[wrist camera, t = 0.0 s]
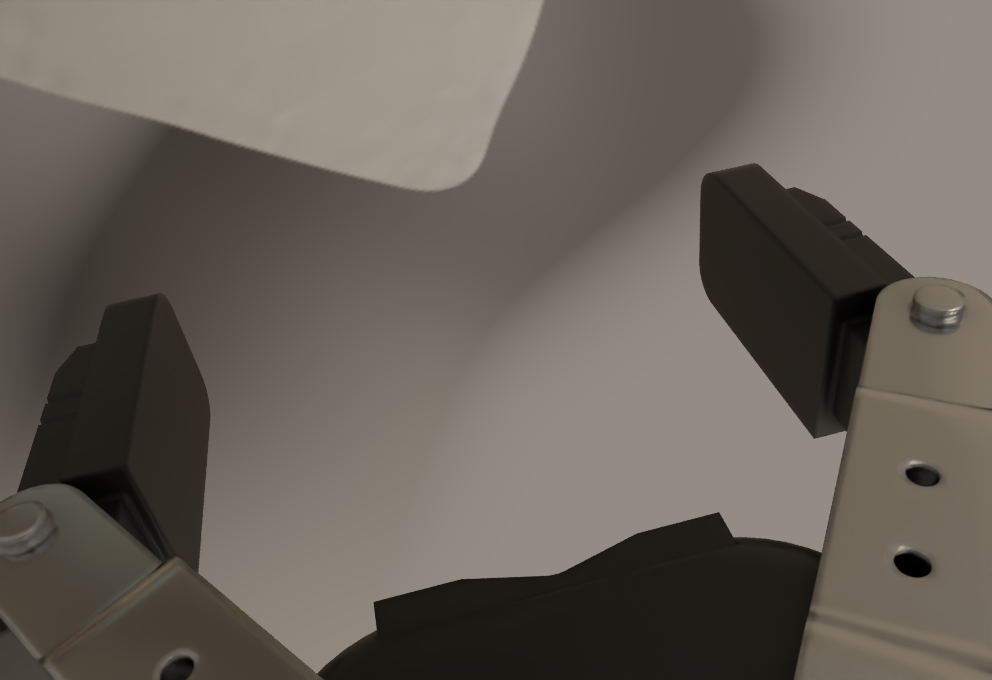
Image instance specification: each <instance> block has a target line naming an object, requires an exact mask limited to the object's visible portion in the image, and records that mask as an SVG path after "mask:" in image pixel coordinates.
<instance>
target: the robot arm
mask: <svg viewBox="0 0 992 680" xmlns="http://www.w3.org/2000/svg"><path fill="white" fill-rule="evenodd" d="M700 202H701V203H700V255H699V257H700V258H699V262H700V263H699V266H700V274H701V279H702V283H703V286H704V289H705V292H706V294H707V296H708V298H709V300H710V302H711V303H712V304H713V306H714V307H715V308H716V310H717V311H718V312H719V314H720V315H721V316H722V318H723V319H724V320H725V322H726V323H727V324H728V326H730V328H731V330H732V331H733V332H734V333H735V335H736V336H737V337H738V339H739V340H740V341H741V343H742V344H743V345H744V347H745V348H746V349H747V351H748V352H749V353H750V355H751V356H752V357H753V358H754V360H755V361H756V362H757V364H758V365H759V366H760V368H761V369H762V370H763V372H764V373H765V374H766V375H767V377H768V378H769V380H770V381H771V382H772V384H773V385H774V386H775V388H776V389H777V390H778V392H779V393H780V394H781V395H782V397H783V398H784V399H785V401H786V402H787V403H788V405H789V406H790V407H791V409H792V410H793V411H794V413H795V414H796V415H797V417H798V418H799V419H800V421H801V422H802V423H803V425H804V426H805V427H806V429H807V430H808V431H809V433H810V434H811V435H812V436H813V438H814V439H815V438H819V437H823V436H827V435H831V434H835V433H838V432H843V431H847V435H846V439H845V444H844V449H843V454H842V459H841V464H840V468H839V474H838V478H837V482H836V488H835V492H834V497H833V501H832V506H831V511H830V516H829V521H828V525H827V530H826V535H825V540H824V544H823V549H822V553H821V552H818V551H815V550H812V549H810V548H806V547H803V546H799V545H795V544H791V543H787V542H782V541H775V540H770V539H761V538H747V537H735V538H734V537H733V536H732V534H731V533H730V531H729V529H728V527H727V525H726V524H725V522H724V520H723V518H722V517H721V515H720V513H719V512H718V513H714V514H711V515H706V516H703V517H699V518H695V519H691V520H687V521H683V522H680V523H676V524H672V525H668V526H664V527H660V528H657V529H653V530H649V531H645V532H641V533H637V534H635V535H633V536H631V537H629V538H627V539H625V540H624V541H622V542H620V543H618V544H616V545H614V546H612V547H610V548H608V549H606V550H604V551H603V552H600V553H599V554H597V555H595V556H593V557H591V558H589V559H587V560H585V561H583V562H581V563H579V564H577V565H575V566H574V567H572V568H570V569H568V570H566V571H564V572H561V573H559V574H555V575H550V576H533V577H509V578H508V577H507V578H482V579H461V580H457V581H453V582H449V583H445V584H442V585H437V586H433V587H430V588H426V589H422V590H418V591H414V592H411V593H407V594H403V595H399V596H395V597H391V598H388V599H384V600H380V601H376V602H374V610H375V618H376V626H377V630H376V631H374V632H373V633H371V634H369V635H367V636H365V637H363V638H362V639H360V640H359V641H357V642H356V643H354V644H353V645H351V646H349V647H348V648H347V649H345V650H344V651H342V652H341V653H340V654H339V655H338V656H336V657H335V658H334V659H333V660H331V661H330V662H329V663H328V664H326V665H325V666H324V667H323V668H322V670H320V671H319V672H318V673H317V674H316V673H315V672H314V671H313V670H312V669H311V668H309V667H308V666H307V665H306V664H305V663H304V662H302V661H301V660H300V659H299V658H298V657H296V656H295V655H294V654H293V653H292V652H291V651H289V650H288V649H287V648H286V647H285V646H283V645H282V644H281V643H280V642H279V641H278V640H276V639H275V638H274V637H273V636H272V635H271V634H269V633H268V632H267V631H266V630H265V629H263V628H262V627H261V626H260V625H259V624H257V623H256V622H255V621H254V620H253V619H251V618H250V617H249V616H248V615H247V614H246V613H245V612H243V611H242V610H241V609H240V608H239V607H238V606H236V605H235V604H234V603H233V602H232V601H230V600H229V599H228V598H227V597H226V596H225V595H223V594H222V593H221V592H220V591H219V590H218V589H216V588H215V587H214V586H213V585H212V584H210V583H209V582H208V581H207V580H206V579H204V578H203V577H202V576H201V575H200V574H199V573H198V568H199V556H200V544H201V530H202V518H203V505H204V492H205V491H204V490H205V479H206V467H207V454H208V440H209V428H210V406H209V399H208V394H207V391H206V387H205V384H204V380H203V378H202V375H201V373H200V371H199V368H198V366H197V364H196V361H195V359H194V357H193V354H192V352H191V350H190V347H189V345H188V343H187V341H186V338H185V336H184V334H183V331H182V329H181V327H180V324H179V322H178V320H177V317H176V315H175V313H174V311H173V308H172V306H171V304H170V302H169V300H168V299H167V298H166V296H165V295H163V294H162V293H158V294H153V295H149V296H144V297H140V298H135V299H131V300H126V301H122V302H117V303H112V304H109V305H107V306H106V308H105V311H104V315H103V318H102V322H101V326H100V329H99V334H98V337H97V341H96V343H93V344H89V345H84V346H80V347H77V348H76V349H75V351H74V352H73V353H72V354H71V355H70V356H69V358H68V359H67V360H66V361H65V362H64V363H63V365H62V366H61V367H60V368H59V369H58V370H57V372H56V373H55V375H54V379H53V381H52V385H51V388H50V391H49V394H48V397H47V400H48V404H45V407H44V410H43V413H42V416H41V419H40V420H41V425H39V426H38V429H37V432H36V435H35V438H34V441H33V444H32V447H31V451H30V454H29V457H28V460H27V463H26V466H25V469H24V473H23V476H22V479H21V482H20V485H19V488H18V491H17V493H16V494H14V495H12V496H10V497H8V498H6V499H5V500H3V501H1V502H0V680H992V298H990V297H989V296H988V295H987V294H985V293H984V292H982V291H981V290H979V289H977V288H975V287H973V286H970V285H968V284H965V283H962V282H958V281H954V280H951V279H945V278H936V277H917V278H915V277H914V276H913V275H911V274H910V273H909V272H908V271H907V270H906V269H904V268H903V267H902V266H901V265H900V264H899V263H898V262H897V261H895V260H894V259H893V258H892V257H891V256H890V255H888V254H887V253H886V252H885V251H884V250H883V249H882V248H880V247H879V246H878V245H877V244H875V242H873V241H872V240H871V239H870V238H869V237H868V236H866V235H865V236H863V235H862V231H860V229H858V228H857V227H856V226H855V225H854V224H853V223H852V222H850V221H846V218H845V216H843V215H842V214H841V213H840V212H839V211H838V210H837V209H835V208H834V207H833V206H832V205H831V204H830V203H829V202H827V201H826V200H825V199H822V198H820V197H817V196H815V195H812V194H810V193H808V192H805V191H803V190H800V189H798V188H795V187H794V188H790V189H785V188H784V187H783V186H781V185H780V184H779V183H778V182H777V181H776V180H775V179H774V178H773V177H772V176H771V175H769V174H768V173H767V172H766V171H765V170H764V169H763V168H762V167H761V166H759V165H758V164H755V163H753V164H748V165H743V166H739V167H735V168H730V169H725V170H721V171H716V172H712V173H708V174H706V175H705V176H704V178H703V180H702V184H701V200H700Z"/></svg>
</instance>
